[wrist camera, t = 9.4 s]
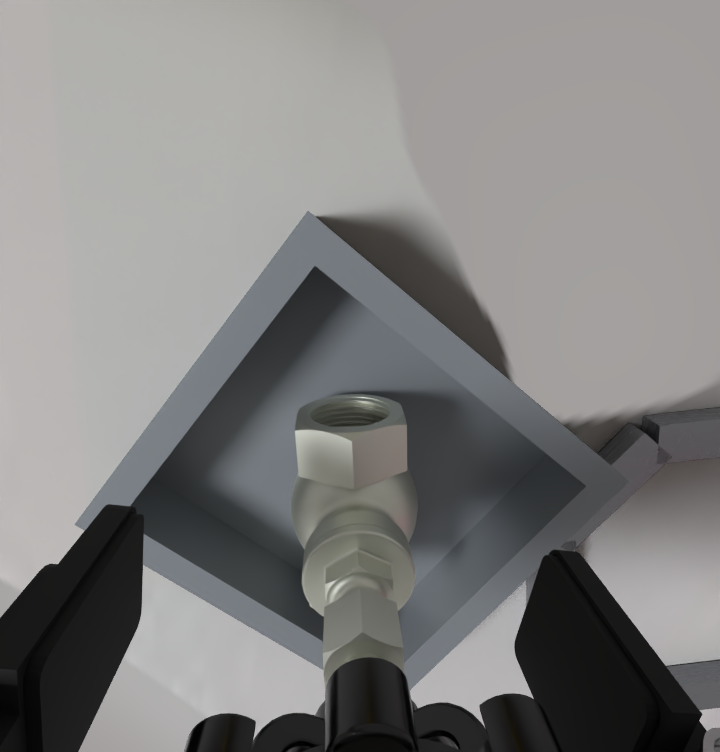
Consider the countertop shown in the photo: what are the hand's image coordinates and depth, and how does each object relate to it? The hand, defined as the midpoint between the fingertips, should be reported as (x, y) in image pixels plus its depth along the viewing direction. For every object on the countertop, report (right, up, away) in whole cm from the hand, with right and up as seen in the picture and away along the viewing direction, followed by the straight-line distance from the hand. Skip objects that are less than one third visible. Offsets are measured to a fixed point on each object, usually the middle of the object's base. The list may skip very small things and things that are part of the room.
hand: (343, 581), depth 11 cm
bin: (0, +2, +7) cm, 8 cm away
